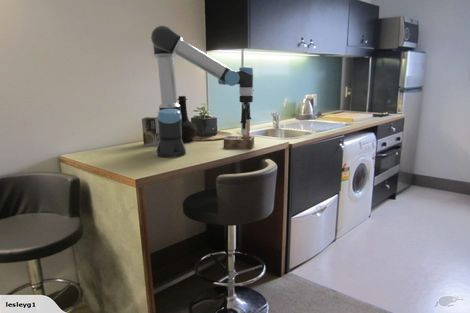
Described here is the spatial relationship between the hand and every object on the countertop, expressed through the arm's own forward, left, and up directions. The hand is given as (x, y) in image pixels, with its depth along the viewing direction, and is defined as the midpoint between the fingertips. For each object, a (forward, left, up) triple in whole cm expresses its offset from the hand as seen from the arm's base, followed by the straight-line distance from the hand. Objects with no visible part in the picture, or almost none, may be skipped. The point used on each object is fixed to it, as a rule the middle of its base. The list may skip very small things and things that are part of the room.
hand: (245, 132), depth 199 cm
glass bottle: (-42, +11, -8) cm, 44 cm away
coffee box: (-56, -4, -8) cm, 57 cm away
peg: (0, 0, -8) cm, 8 cm away
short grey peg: (-8, 0, -8) cm, 11 cm away
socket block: (-4, 0, -8) cm, 9 cm away
